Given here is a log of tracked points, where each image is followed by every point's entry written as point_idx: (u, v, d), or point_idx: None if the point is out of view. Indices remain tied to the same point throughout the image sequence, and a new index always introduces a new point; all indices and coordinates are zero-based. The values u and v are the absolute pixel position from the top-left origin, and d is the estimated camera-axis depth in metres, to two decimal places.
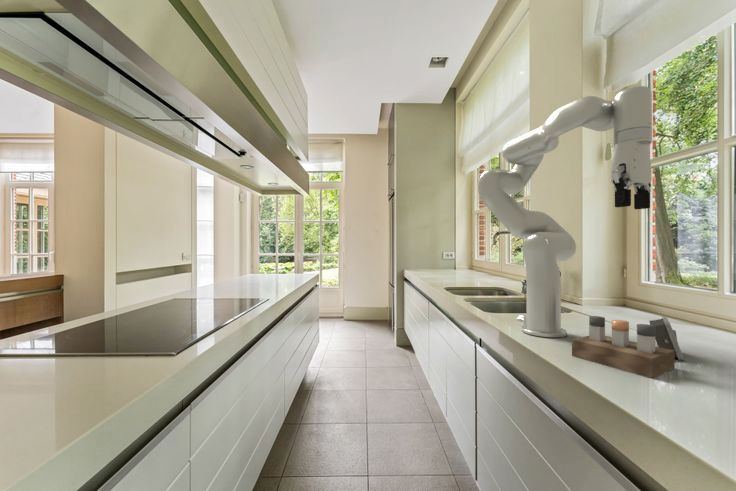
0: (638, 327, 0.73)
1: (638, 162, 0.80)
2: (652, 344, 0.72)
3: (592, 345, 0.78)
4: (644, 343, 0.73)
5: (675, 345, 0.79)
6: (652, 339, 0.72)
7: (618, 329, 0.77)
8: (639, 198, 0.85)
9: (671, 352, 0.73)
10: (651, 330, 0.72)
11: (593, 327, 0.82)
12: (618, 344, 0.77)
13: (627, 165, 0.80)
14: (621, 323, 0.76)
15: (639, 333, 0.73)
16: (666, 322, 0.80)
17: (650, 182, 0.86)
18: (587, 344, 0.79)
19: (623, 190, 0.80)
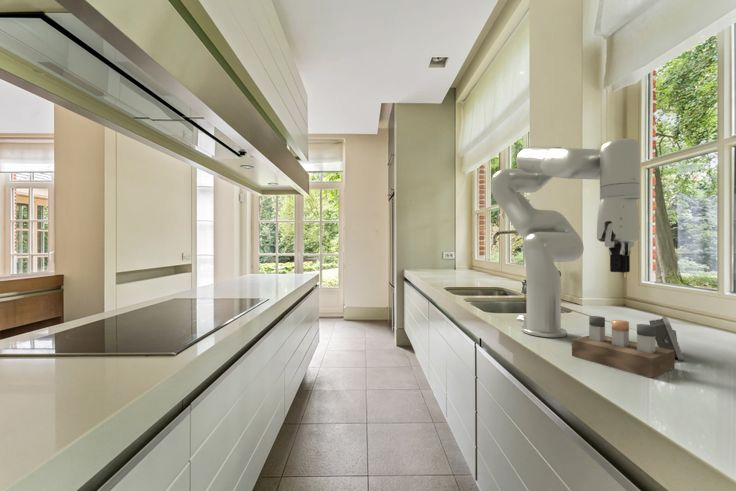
0: (638, 327, 0.73)
1: (625, 220, 0.74)
2: (652, 344, 0.72)
3: (592, 345, 0.78)
4: (644, 343, 0.73)
5: (675, 345, 0.79)
6: (652, 339, 0.72)
7: (618, 329, 0.77)
8: None
9: (671, 352, 0.73)
10: (651, 330, 0.72)
11: (593, 327, 0.82)
12: (618, 344, 0.77)
13: (613, 223, 0.74)
14: (621, 323, 0.76)
15: (639, 333, 0.73)
16: (666, 322, 0.80)
17: (631, 246, 0.79)
18: (587, 344, 0.79)
19: (619, 256, 0.76)
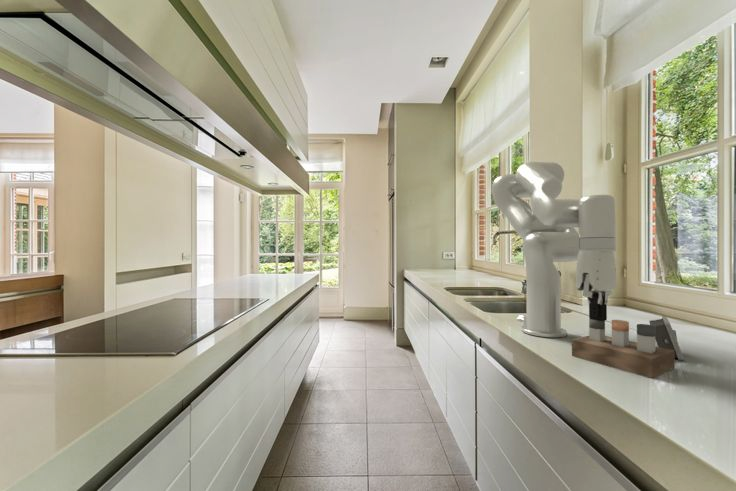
0: (638, 327, 0.73)
1: (601, 272, 0.79)
2: (652, 344, 0.72)
3: (592, 345, 0.78)
4: (644, 343, 0.73)
5: (675, 345, 0.79)
6: (652, 339, 0.72)
7: (618, 329, 0.77)
8: None
9: (671, 352, 0.73)
10: (651, 330, 0.72)
11: (593, 329, 0.82)
12: (618, 344, 0.77)
13: (590, 276, 0.79)
14: (621, 323, 0.76)
15: (639, 333, 0.73)
16: (666, 322, 0.80)
17: (608, 295, 0.83)
18: (587, 344, 0.79)
19: (596, 305, 0.81)
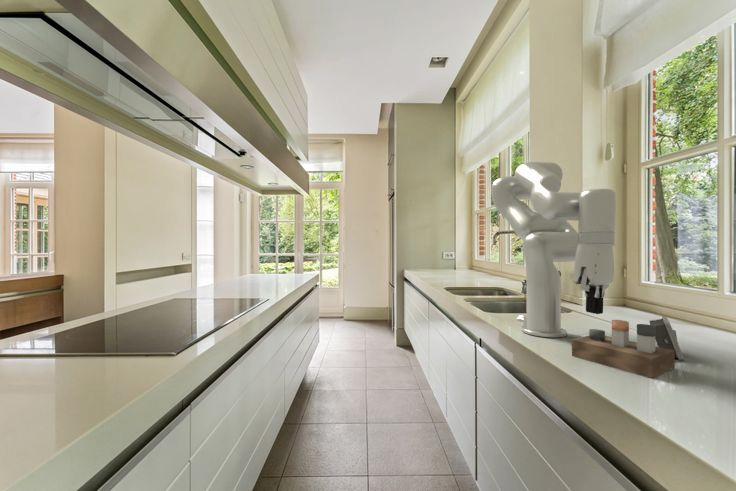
0: (638, 327, 0.73)
1: (599, 267, 0.79)
2: (652, 344, 0.72)
3: (592, 345, 0.78)
4: (644, 343, 0.73)
5: (675, 345, 0.79)
6: (652, 339, 0.72)
7: (618, 329, 0.77)
8: None
9: (671, 352, 0.73)
10: (651, 330, 0.72)
11: None
12: (618, 344, 0.77)
13: (588, 270, 0.79)
14: (621, 323, 0.76)
15: (639, 333, 0.73)
16: (666, 322, 0.80)
17: None
18: (587, 344, 0.79)
19: (593, 298, 0.82)
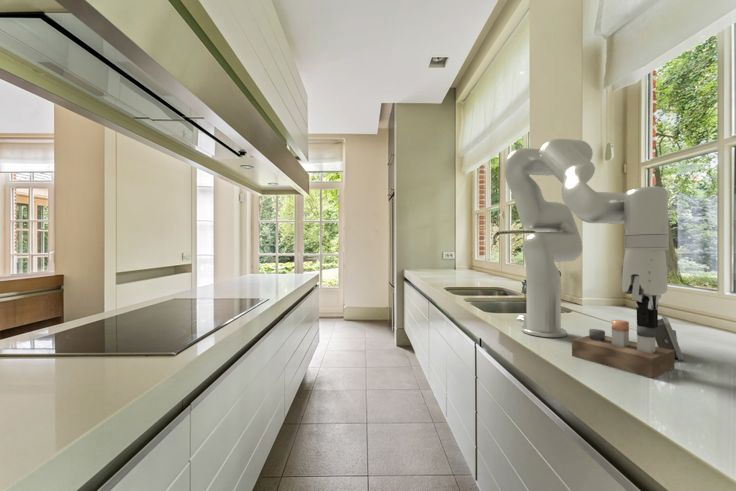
0: (638, 328, 0.73)
1: (653, 274, 0.70)
2: (652, 345, 0.72)
3: (592, 345, 0.78)
4: (644, 344, 0.73)
5: (675, 345, 0.79)
6: (652, 340, 0.72)
7: (618, 329, 0.77)
8: None
9: (671, 352, 0.73)
10: (651, 331, 0.72)
11: None
12: (618, 344, 0.77)
13: (641, 277, 0.70)
14: (621, 323, 0.76)
15: (639, 334, 0.73)
16: (666, 322, 0.80)
17: (658, 299, 0.74)
18: (587, 344, 0.79)
19: (647, 310, 0.72)
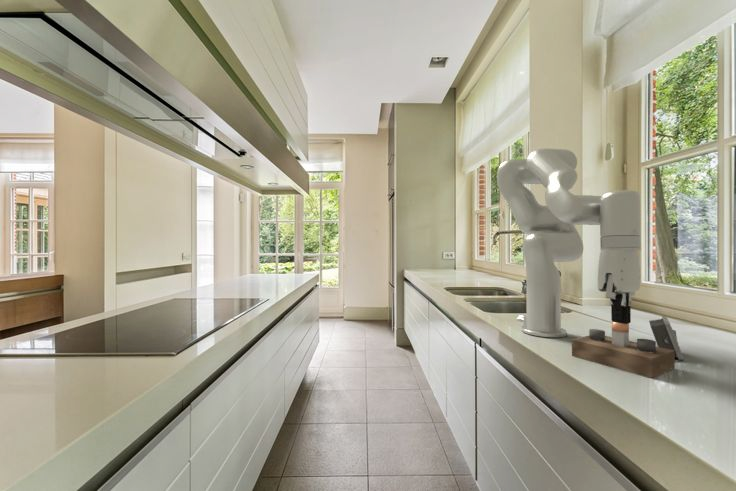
0: (638, 342, 0.73)
1: (626, 273, 0.74)
2: None
3: (592, 345, 0.78)
4: None
5: (675, 345, 0.79)
6: None
7: (618, 330, 0.77)
8: None
9: (671, 352, 0.73)
10: (651, 346, 0.72)
11: None
12: (618, 345, 0.77)
13: (614, 276, 0.74)
14: (621, 324, 0.76)
15: (639, 348, 0.73)
16: (666, 322, 0.80)
17: None
18: (587, 344, 0.79)
19: (620, 307, 0.76)
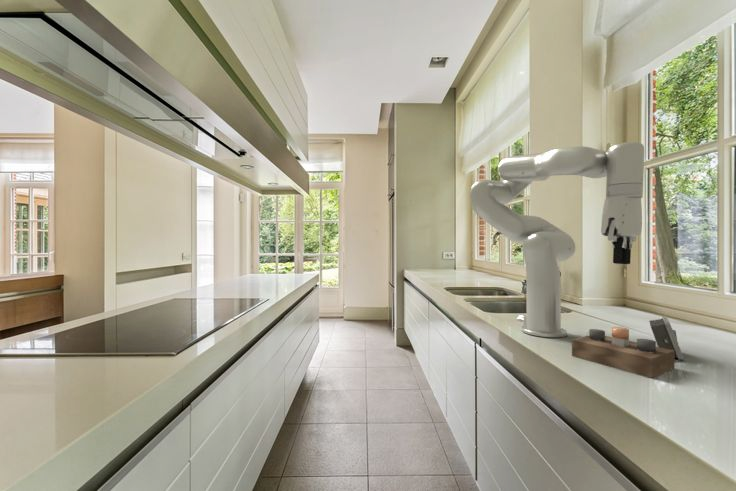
0: (638, 342, 0.73)
1: (627, 217, 0.82)
2: None
3: (592, 345, 0.78)
4: None
5: (675, 345, 0.79)
6: None
7: (618, 336, 0.77)
8: None
9: (671, 352, 0.73)
10: (651, 346, 0.72)
11: None
12: None
13: (616, 220, 0.82)
14: (621, 330, 0.76)
15: (639, 348, 0.73)
16: (666, 322, 0.80)
17: (633, 241, 0.87)
18: (587, 344, 0.79)
19: (621, 249, 0.84)
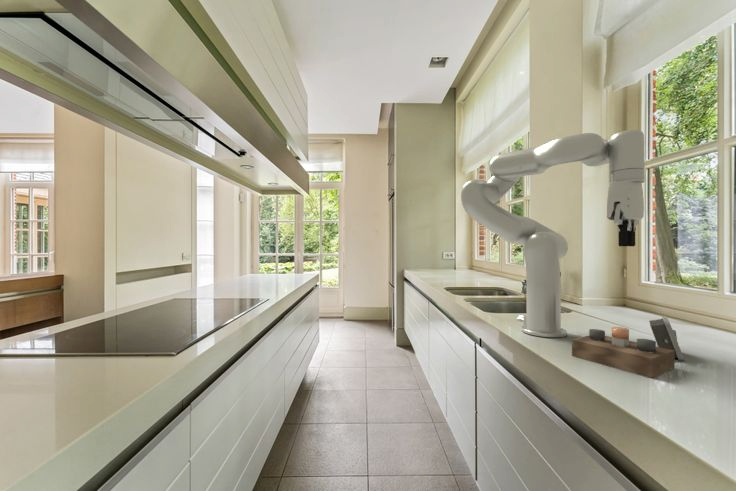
0: (638, 342, 0.73)
1: (631, 201, 0.86)
2: None
3: (592, 345, 0.78)
4: None
5: (675, 345, 0.79)
6: None
7: (618, 336, 0.77)
8: None
9: (671, 352, 0.73)
10: (651, 346, 0.72)
11: None
12: None
13: (621, 203, 0.86)
14: (621, 330, 0.76)
15: (639, 348, 0.73)
16: (666, 322, 0.80)
17: (636, 224, 0.91)
18: (587, 344, 0.79)
19: (626, 232, 0.88)
